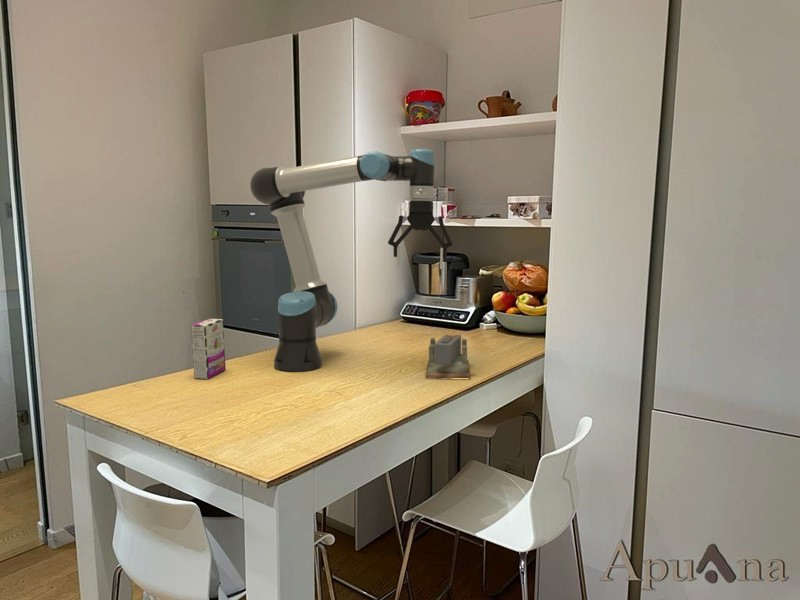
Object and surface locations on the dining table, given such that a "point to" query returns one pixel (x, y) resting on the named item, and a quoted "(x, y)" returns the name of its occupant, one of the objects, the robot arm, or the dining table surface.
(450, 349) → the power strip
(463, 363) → the rack
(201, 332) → the candy bar box
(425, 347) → the dining table surface
